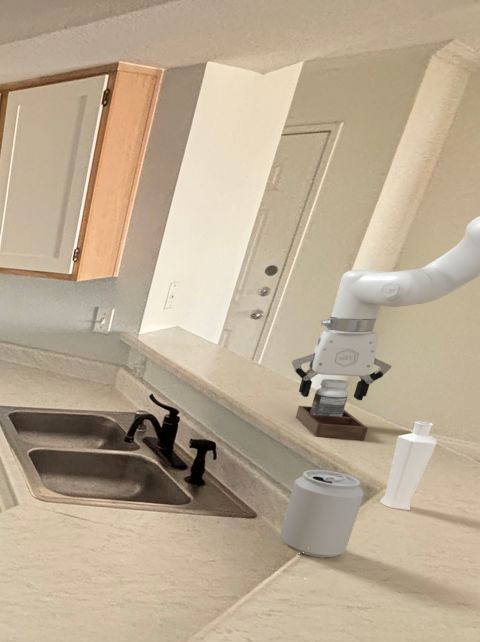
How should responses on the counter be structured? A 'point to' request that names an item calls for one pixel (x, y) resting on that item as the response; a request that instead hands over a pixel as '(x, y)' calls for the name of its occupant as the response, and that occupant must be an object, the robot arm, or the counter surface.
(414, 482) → the perfume bottle
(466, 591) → the counter surface
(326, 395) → the pill bottle
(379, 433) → the counter surface
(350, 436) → the brown wooden tray
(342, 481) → the can
